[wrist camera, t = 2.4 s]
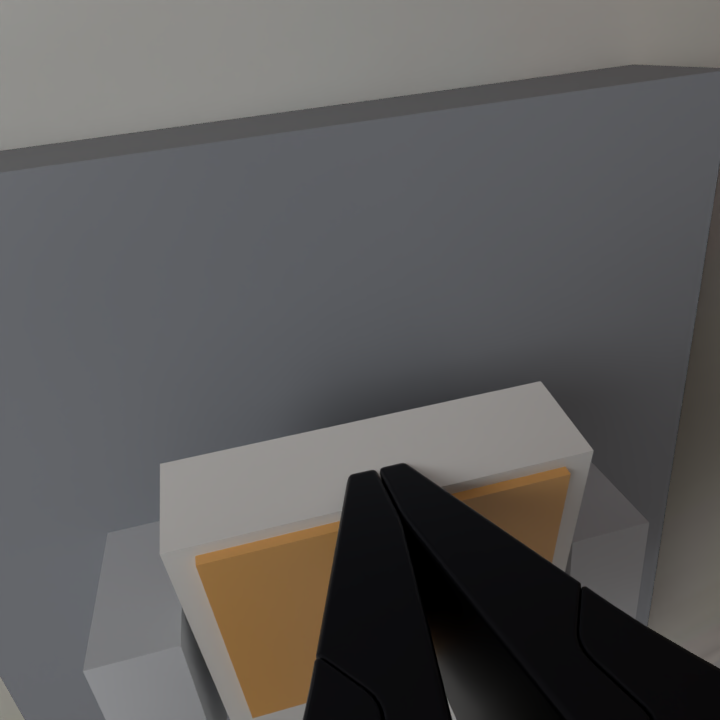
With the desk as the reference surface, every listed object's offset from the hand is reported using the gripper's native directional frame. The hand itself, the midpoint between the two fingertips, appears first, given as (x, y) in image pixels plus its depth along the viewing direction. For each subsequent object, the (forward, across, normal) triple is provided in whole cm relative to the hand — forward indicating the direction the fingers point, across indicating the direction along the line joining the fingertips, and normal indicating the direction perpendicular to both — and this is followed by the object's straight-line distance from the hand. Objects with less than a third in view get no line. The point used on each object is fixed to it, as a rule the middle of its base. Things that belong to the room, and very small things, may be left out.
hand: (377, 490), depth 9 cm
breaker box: (+6, 0, +4) cm, 8 cm away
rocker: (+1, 0, +4) cm, 4 cm away
